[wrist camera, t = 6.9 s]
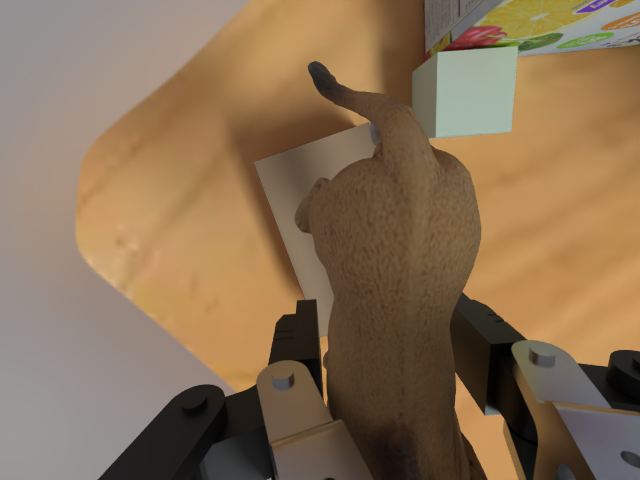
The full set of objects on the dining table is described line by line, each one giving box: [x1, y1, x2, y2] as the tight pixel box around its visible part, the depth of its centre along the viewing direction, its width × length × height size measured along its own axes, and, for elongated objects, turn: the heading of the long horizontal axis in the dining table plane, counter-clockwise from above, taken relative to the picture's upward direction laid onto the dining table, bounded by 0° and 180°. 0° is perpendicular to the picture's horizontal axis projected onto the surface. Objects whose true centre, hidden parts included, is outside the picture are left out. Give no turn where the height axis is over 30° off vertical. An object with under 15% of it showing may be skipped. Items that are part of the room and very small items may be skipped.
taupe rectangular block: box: [254, 122, 375, 337], centre depth 25 cm, size 8×14×5 cm, turn 18°
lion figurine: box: [295, 61, 488, 480], centre depth 8 cm, size 15×5×9 cm, turn 16°
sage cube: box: [412, 46, 518, 139], centre depth 22 cm, size 5×5×5 cm
